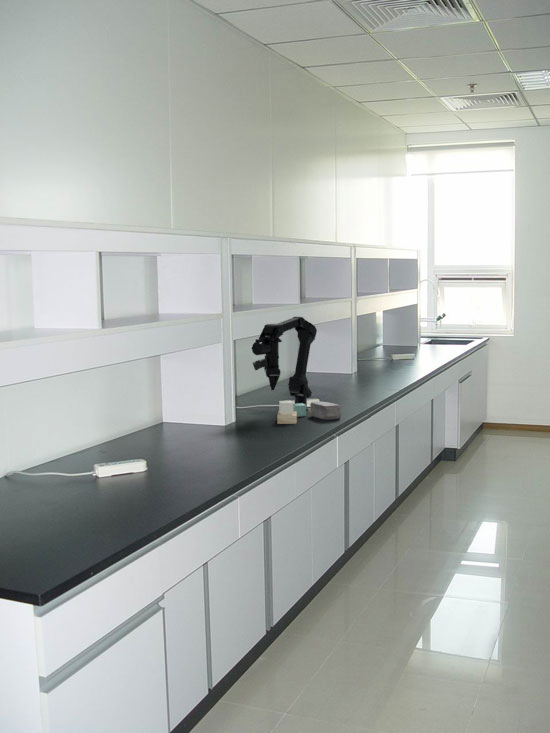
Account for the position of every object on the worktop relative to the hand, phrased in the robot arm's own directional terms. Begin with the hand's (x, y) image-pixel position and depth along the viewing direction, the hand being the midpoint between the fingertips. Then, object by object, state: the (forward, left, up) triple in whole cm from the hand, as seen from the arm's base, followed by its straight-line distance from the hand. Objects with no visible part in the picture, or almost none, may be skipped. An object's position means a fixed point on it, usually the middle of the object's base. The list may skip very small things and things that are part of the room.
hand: (272, 388), depth 355 cm
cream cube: (+12, +5, -9) cm, 16 cm away
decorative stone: (+5, +23, -13) cm, 27 cm away
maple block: (+12, +6, -13) cm, 18 cm away
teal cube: (-2, +12, -13) cm, 18 cm away
